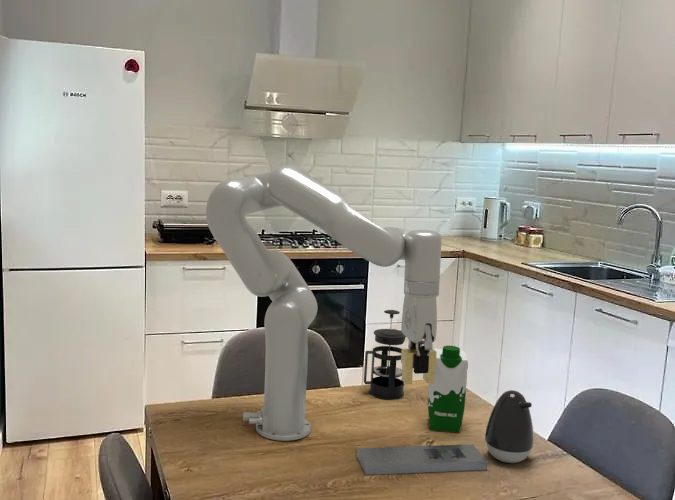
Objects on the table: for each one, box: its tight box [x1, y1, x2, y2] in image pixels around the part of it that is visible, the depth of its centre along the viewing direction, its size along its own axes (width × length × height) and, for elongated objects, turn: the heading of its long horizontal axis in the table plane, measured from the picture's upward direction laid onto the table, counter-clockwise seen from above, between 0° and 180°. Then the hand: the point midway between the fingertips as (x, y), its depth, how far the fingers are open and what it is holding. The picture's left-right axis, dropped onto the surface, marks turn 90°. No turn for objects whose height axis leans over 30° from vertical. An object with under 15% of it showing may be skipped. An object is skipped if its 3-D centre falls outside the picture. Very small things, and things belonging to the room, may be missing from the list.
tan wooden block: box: [400, 348, 437, 385], centre depth 147 cm, size 7×3×7 cm, turn 103°
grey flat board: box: [356, 443, 489, 476], centre depth 142 cm, size 26×8×2 cm, turn 101°
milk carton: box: [427, 345, 469, 433], centre depth 161 cm, size 9×9×20 cm
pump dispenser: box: [484, 389, 534, 464], centre depth 146 cm, size 10×10×15 cm
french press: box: [363, 309, 407, 401], centre depth 181 cm, size 12×9×23 cm
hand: (418, 369), depth 148 cm, fingers closed on tan wooden block, 3 cm apart
